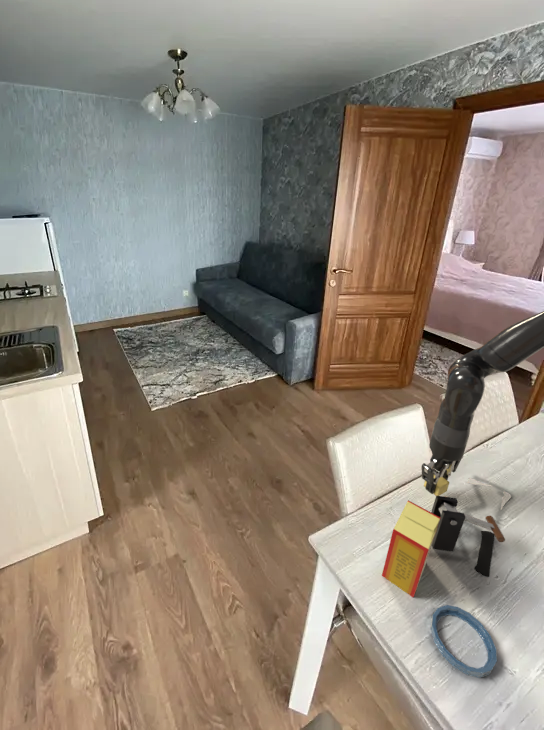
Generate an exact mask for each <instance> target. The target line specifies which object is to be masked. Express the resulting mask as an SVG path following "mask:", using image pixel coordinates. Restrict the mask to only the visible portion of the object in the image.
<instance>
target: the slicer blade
mask: <svg viewBox="0 0 544 730" xmlns="http://www.w3.org/2000/svg"><path fill="white" fill-rule="evenodd" d="M442 510H445V511H452V512H459V513H462V511H458V509H457V506H456V507H455V506H453V505H450V504H448V503H445V502H443V504H442V505H441V506H440V507H439V511H440V514H441V513H442ZM464 515H465V520H464V522H466V523H469V524H472V525H475V526H477V527H480V528H483V529H486V530H487V531H490V532H492V533H493V534H494V538H496V541H497V542H499V543H504V542H505V541H506V538H505V535H504V534H503V532H502V531H501V529H500V527H499V525H498V524H497V522H496V520H495V518H494V517H493V516H492V515H487V516H485V520H482V519H480V518H477V517H475V516H471V515H468V514H466V513H464Z"/></svg>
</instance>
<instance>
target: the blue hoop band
mask: <svg viewBox="0 0 544 730" xmlns="http://www.w3.org/2000/svg"><path fill="white" fill-rule="evenodd" d="M448 616H449V617H455V618H458V619H460V620H462V621H463V622H465V623H467V624H468V625H469V626H470V627H472V629H474V630H475V631H476V633H477V634H478V636H479V637H480V638H481V640H482V641H483V644H484V647H485V649H486V657H487V658H486V659H487V660H486V662H485V664H484V666H480V667H473V666H468V665H467V664H465V663H463V662H462V661H460V660H459V659H457V658H456V657H455V656H454V655H453V654H452V652H450V651H449V650H448V648H446V646H445V644H444V643H443V641H442V640H441V638H440V637H439V636H440V635H439V633H438V623H439V621H440V620H441V619H442V618H445V617H448ZM429 630H430V632H431V636H432V640H433V642H434V645H435V646H436V648H437V649H438V651H439V653H440V654H441V656H442V657H443V658H444V659H445V660H446V661H447V662H449V664H450V666H452V667H453V668H455V669H456V670H458V671H460V672H461V673H462V674H465V675H466V676H470V677H474V678H479V679H481V678H484V677H486V676H490V675H491V673H492V672H493V669H494V668H495V666H496V664H497V662H498V657H497V655H498V654H497V648H496V645H495V643H494V640H493V637H492V636H491V634H490V633H489V632H488V630H487V629H486V627H485V626H484V624H483V623H482V622H481V621H480V620H479V619H477V618H476V617H475V616H473V615H472V614H471V613H470V612H468V611H467V610H465V609H463V608H461V607H459V606H455V605H449V604H446V605H442V606H438V607H437V608H436V610H435V611H434V612H433V613H432V616H431V618H430V629H429Z"/></svg>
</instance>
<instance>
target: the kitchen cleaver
mask: <svg viewBox="0 0 544 730" xmlns="http://www.w3.org/2000/svg"><path fill="white" fill-rule="evenodd" d="M466 484H469V485H476V486H484V487H491V488H492V487H494V485H490V484H487V483H485V482H482V481H479V480H477V479H474V478H471V477H469V478H468V479H467V482H466ZM502 494H503V496H502V498H501V504H500V511H502V510H503V508H504V506H505V505H506V504H507V503H508V502H509V501H510V499H511V497H512V495H511V494H510V493H509V492H507V491H505V490H503V491H502ZM480 535H481V539H480V546H479V551H478V555H477V560H476V563H475V566H474V568H473V569H474V571H475V572H476V573H477V574H479V575H481V576H482V577H485V578H490V574H491V564H492V556H493V551H494V550H493V549H494V543H495V535H494V533H493V531H490V530H480Z"/></svg>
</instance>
